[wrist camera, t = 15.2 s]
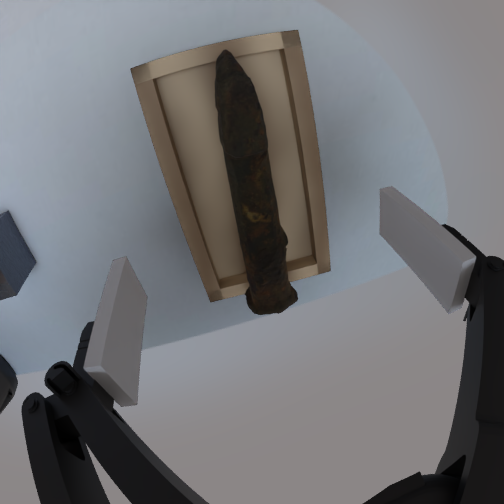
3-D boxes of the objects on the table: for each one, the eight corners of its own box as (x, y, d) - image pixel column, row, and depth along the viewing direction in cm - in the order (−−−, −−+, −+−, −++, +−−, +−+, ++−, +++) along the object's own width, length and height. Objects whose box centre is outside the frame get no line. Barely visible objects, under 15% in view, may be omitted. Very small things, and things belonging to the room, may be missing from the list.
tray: (209, 283, 30) (210, 302, 28) (138, 68, 18) (130, 68, 16) (321, 254, 30) (330, 270, 28) (287, 33, 18) (298, 29, 16)
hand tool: (289, 280, 28) (303, 317, 24) (244, 289, 27) (252, 328, 23) (266, 47, 17) (284, 41, 13) (203, 55, 17) (204, 51, 13)
